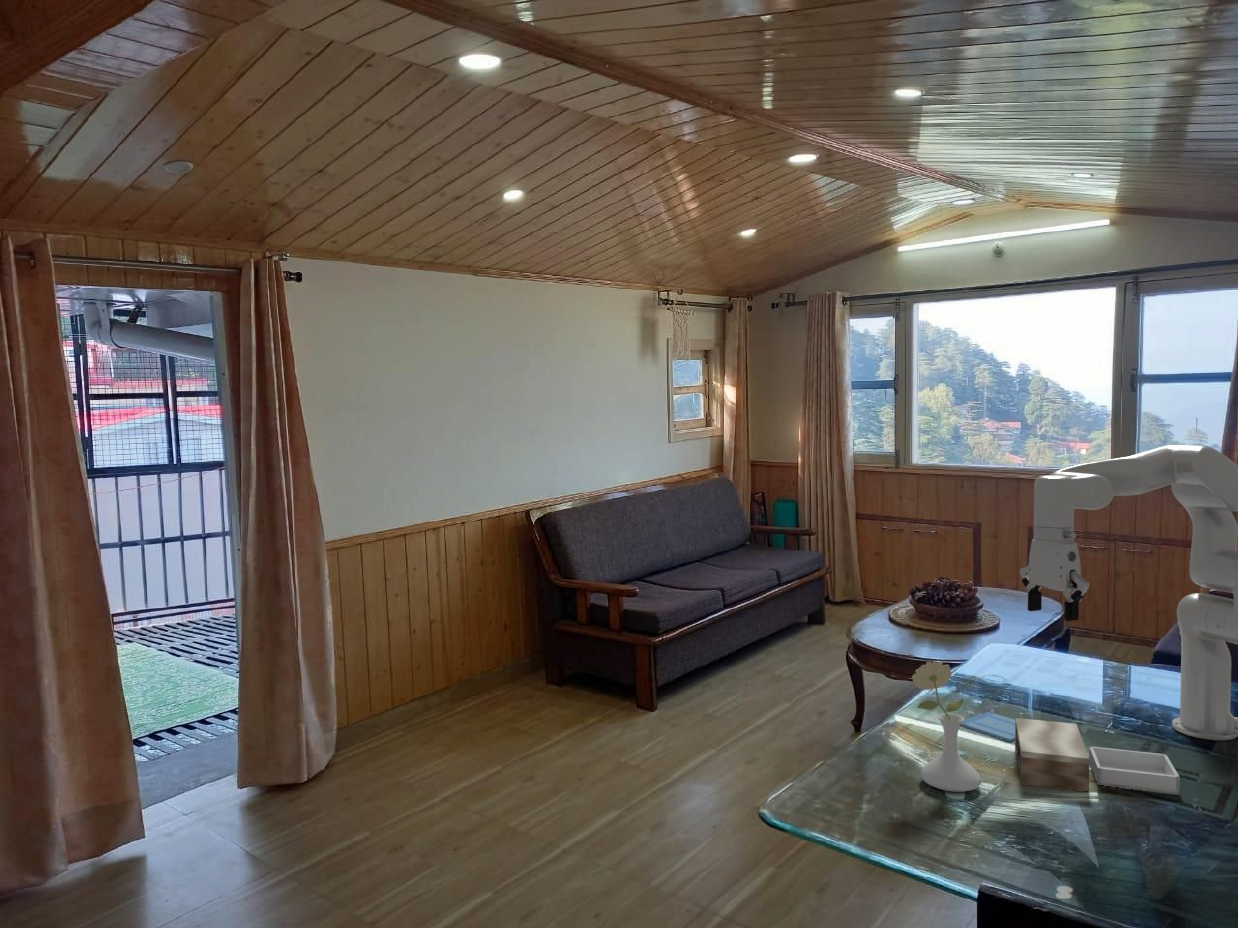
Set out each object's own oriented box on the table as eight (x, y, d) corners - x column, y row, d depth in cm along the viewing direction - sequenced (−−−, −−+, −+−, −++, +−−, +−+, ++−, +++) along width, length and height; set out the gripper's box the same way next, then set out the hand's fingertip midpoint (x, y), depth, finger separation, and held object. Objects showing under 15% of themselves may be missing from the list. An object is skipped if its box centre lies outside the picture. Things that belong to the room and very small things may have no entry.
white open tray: (1165, 770, 180) (1166, 754, 180) (1179, 795, 169) (1180, 777, 169) (1089, 762, 185) (1089, 746, 185) (1097, 785, 174) (1097, 768, 174)
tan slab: (1076, 754, 190) (1076, 723, 189) (1089, 792, 171) (1089, 758, 171) (1015, 747, 194) (1015, 717, 194) (1021, 783, 175) (1021, 750, 175)
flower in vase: (979, 777, 179) (980, 656, 178) (983, 800, 168) (984, 672, 167) (912, 769, 183) (912, 651, 182) (911, 792, 173) (911, 666, 171)
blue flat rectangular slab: (1040, 732, 204) (1041, 727, 204) (1010, 744, 197) (1010, 738, 197) (988, 716, 215) (988, 711, 215) (957, 726, 209) (957, 721, 209)
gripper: (1102, 538, 177) (1100, 622, 178) (1035, 528, 194) (1034, 605, 195) (1073, 541, 175) (1072, 626, 176) (1008, 530, 191) (1007, 608, 192)
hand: (1052, 615), depth 185 cm, fingers open, 9 cm apart
